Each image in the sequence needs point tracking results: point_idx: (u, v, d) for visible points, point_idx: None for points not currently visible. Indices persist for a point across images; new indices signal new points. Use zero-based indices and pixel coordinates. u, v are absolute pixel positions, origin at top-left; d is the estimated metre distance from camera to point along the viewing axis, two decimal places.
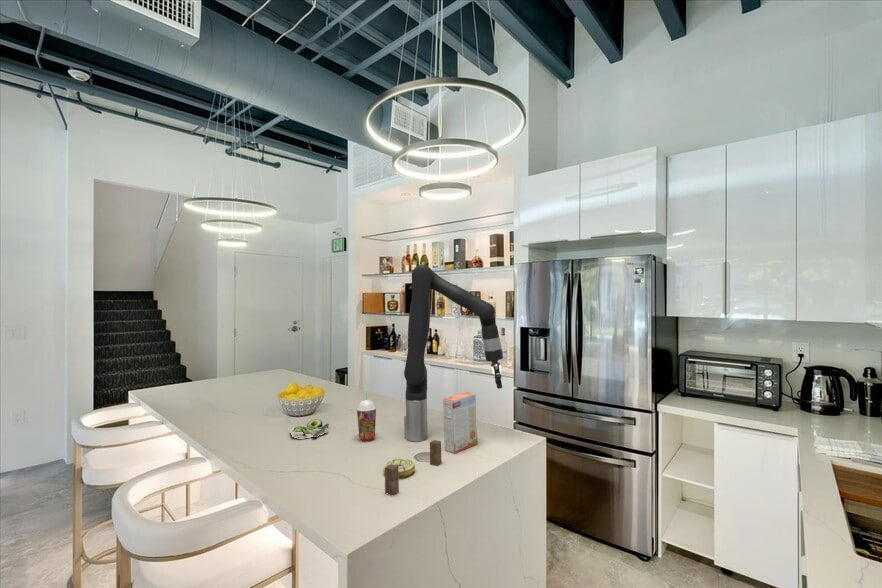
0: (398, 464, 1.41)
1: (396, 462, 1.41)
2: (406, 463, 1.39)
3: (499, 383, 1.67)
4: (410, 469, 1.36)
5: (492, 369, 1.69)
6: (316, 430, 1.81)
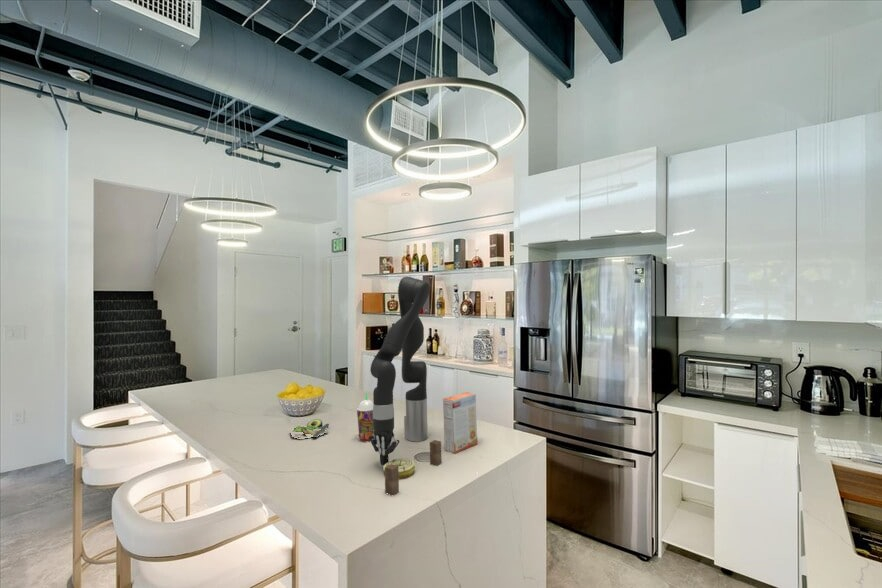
0: (398, 464, 1.41)
1: (396, 462, 1.41)
2: (406, 463, 1.39)
3: None
4: (410, 469, 1.36)
5: None
6: (316, 430, 1.81)
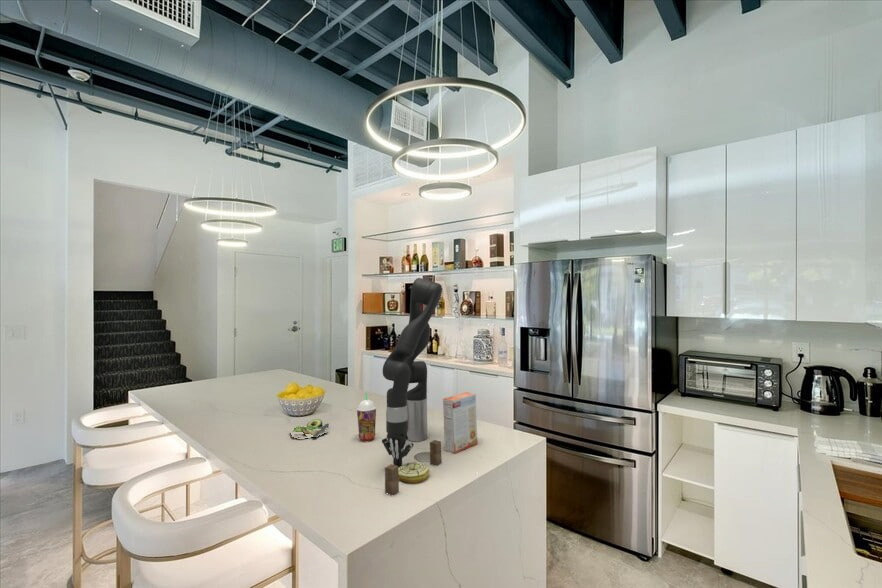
0: (412, 468, 1.37)
1: (410, 466, 1.37)
2: (420, 467, 1.35)
3: None
4: (424, 473, 1.33)
5: None
6: (316, 430, 1.81)
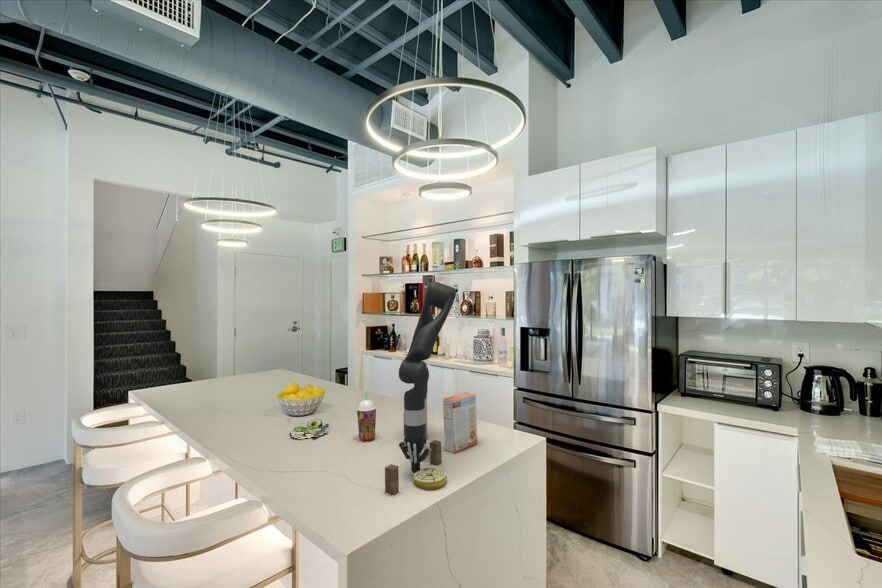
0: (429, 473, 1.33)
1: (427, 471, 1.33)
2: (437, 473, 1.30)
3: None
4: (440, 480, 1.27)
5: None
6: (316, 430, 1.81)
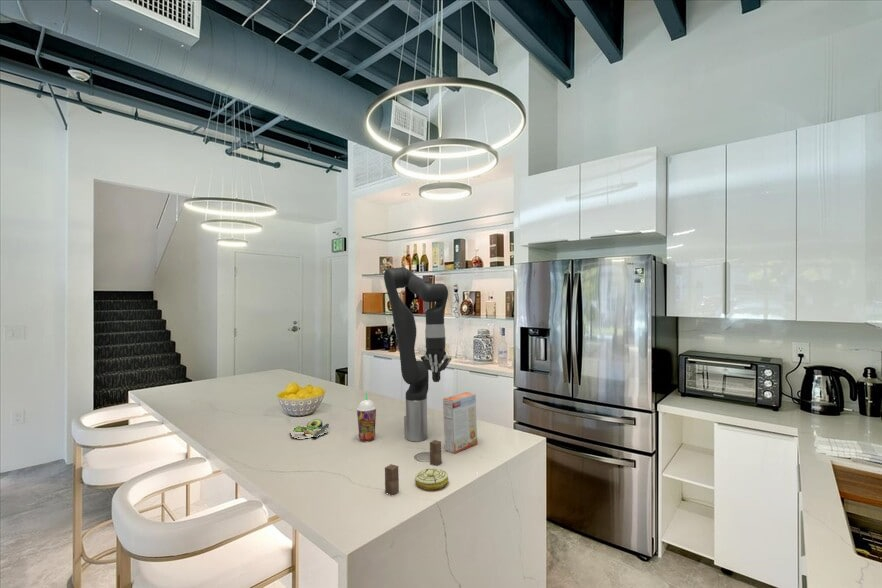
0: (431, 474, 1.32)
1: (429, 472, 1.32)
2: (438, 474, 1.30)
3: None
4: (442, 481, 1.27)
5: None
6: (316, 430, 1.81)
